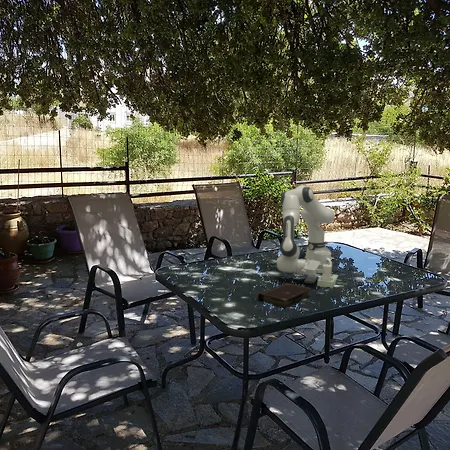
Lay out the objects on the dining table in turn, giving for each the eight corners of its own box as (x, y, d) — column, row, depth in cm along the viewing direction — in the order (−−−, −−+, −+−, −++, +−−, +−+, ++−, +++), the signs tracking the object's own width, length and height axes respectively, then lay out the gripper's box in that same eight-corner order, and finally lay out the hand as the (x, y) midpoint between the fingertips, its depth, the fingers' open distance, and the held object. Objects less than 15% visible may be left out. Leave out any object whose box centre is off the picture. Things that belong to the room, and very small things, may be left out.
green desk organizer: (323, 276, 282) (323, 271, 281) (337, 278, 278) (338, 272, 278) (317, 286, 262) (317, 280, 261) (332, 288, 258) (333, 282, 258)
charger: (323, 280, 267) (324, 262, 265) (330, 281, 265) (331, 262, 263) (322, 282, 263) (322, 263, 261) (329, 283, 261) (330, 264, 259)
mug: (337, 274, 286) (338, 255, 284) (324, 276, 281) (325, 256, 279) (323, 268, 299) (323, 250, 297) (309, 270, 294) (310, 251, 292)
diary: (257, 301, 238) (257, 292, 237) (284, 290, 256) (284, 281, 255) (286, 309, 226) (286, 299, 225) (312, 297, 244) (312, 288, 243)
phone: (308, 276, 280) (308, 274, 280) (318, 278, 278) (318, 276, 278) (304, 282, 268) (304, 280, 268) (314, 283, 266) (314, 281, 266)
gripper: (299, 266, 258) (323, 268, 253) (306, 258, 277) (328, 260, 272) (299, 276, 259) (322, 279, 254) (306, 267, 278) (328, 270, 273)
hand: (326, 269), depth 263 cm, fingers open, 8 cm apart
